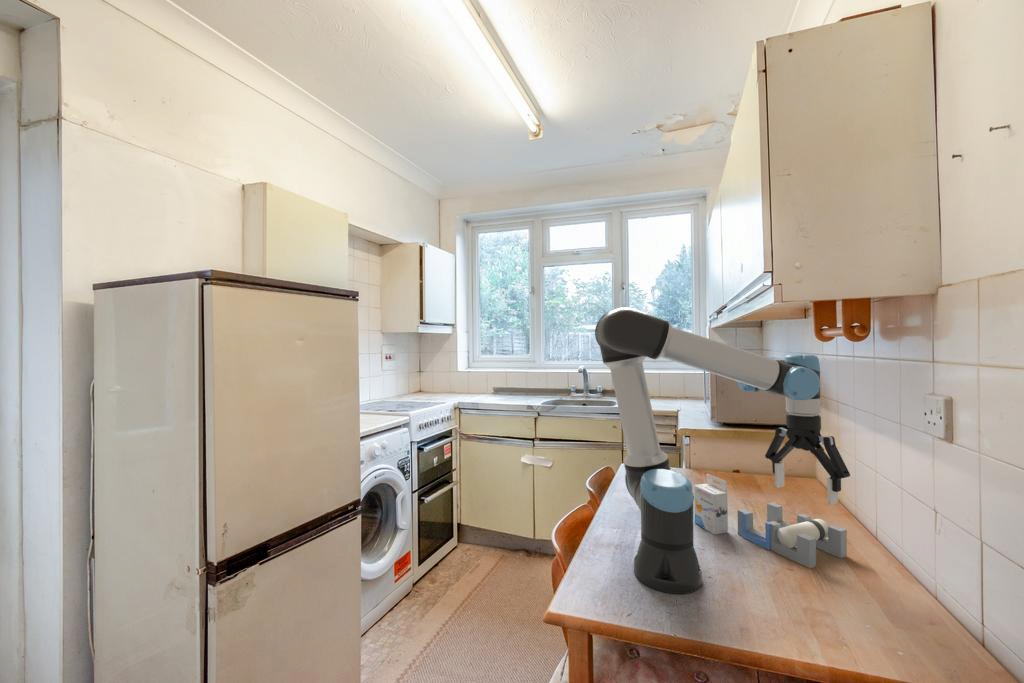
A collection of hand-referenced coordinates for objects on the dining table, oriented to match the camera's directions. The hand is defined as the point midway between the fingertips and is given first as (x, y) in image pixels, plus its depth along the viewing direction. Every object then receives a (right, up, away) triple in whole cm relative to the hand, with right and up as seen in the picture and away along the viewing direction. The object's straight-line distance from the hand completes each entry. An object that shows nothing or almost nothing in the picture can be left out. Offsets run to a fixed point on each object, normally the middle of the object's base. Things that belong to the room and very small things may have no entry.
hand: (804, 494), depth 111 cm
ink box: (-18, -15, +14) cm, 28 cm away
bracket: (-2, -15, +4) cm, 15 cm away
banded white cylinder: (0, -12, 0) cm, 12 cm away
